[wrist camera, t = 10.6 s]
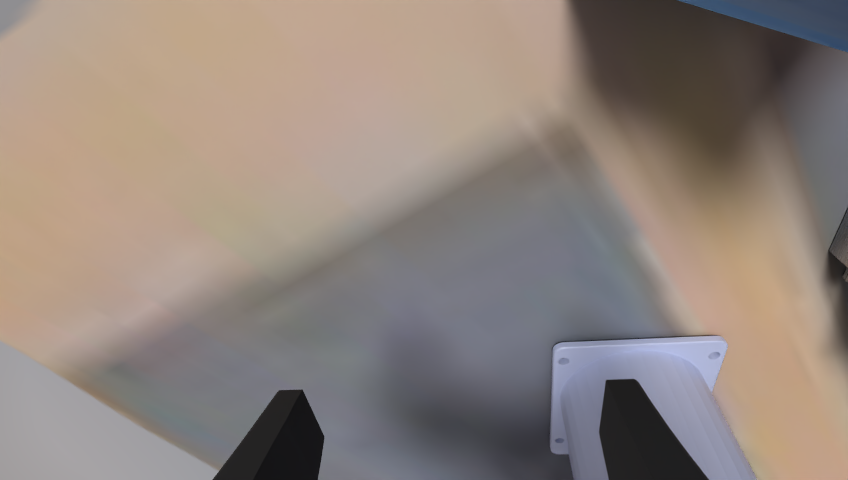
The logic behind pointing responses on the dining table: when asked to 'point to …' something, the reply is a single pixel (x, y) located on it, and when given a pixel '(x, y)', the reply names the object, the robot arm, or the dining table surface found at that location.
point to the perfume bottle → (790, 17)
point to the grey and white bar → (841, 245)
